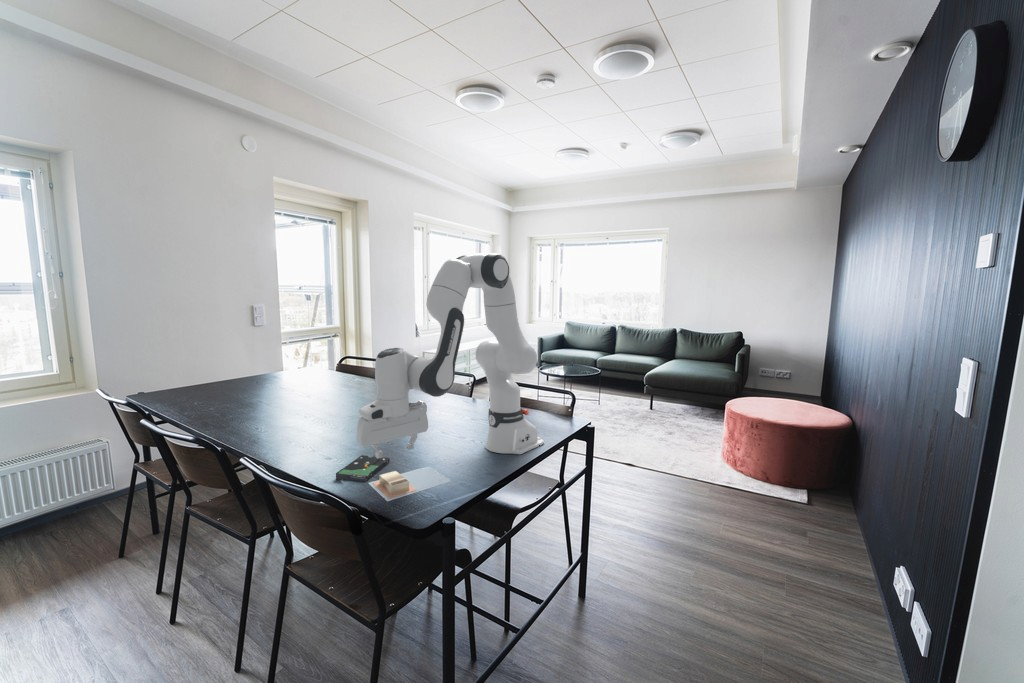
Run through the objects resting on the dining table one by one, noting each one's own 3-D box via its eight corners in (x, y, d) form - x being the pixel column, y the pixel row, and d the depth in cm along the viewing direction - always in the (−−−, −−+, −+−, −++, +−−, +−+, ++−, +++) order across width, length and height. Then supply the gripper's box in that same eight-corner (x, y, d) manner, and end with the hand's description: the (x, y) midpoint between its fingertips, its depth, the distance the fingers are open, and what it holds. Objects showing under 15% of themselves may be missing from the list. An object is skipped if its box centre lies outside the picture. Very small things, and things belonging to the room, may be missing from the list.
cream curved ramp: (379, 483, 125) (379, 474, 125) (395, 478, 128) (395, 470, 128) (392, 494, 118) (392, 485, 118) (409, 489, 121) (409, 480, 121)
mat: (429, 467, 138) (429, 465, 138) (451, 483, 127) (451, 480, 127) (367, 484, 125) (367, 482, 125) (387, 503, 115) (387, 500, 114)
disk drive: (361, 463, 143) (335, 481, 128) (361, 454, 142) (335, 472, 128) (390, 465, 141) (367, 485, 126) (390, 457, 141) (367, 475, 126)
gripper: (421, 397, 129) (422, 441, 131) (353, 410, 117) (356, 458, 118) (431, 401, 125) (433, 447, 126) (361, 416, 112) (364, 466, 114)
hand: (395, 453), depth 122 cm, fingers open, 8 cm apart
